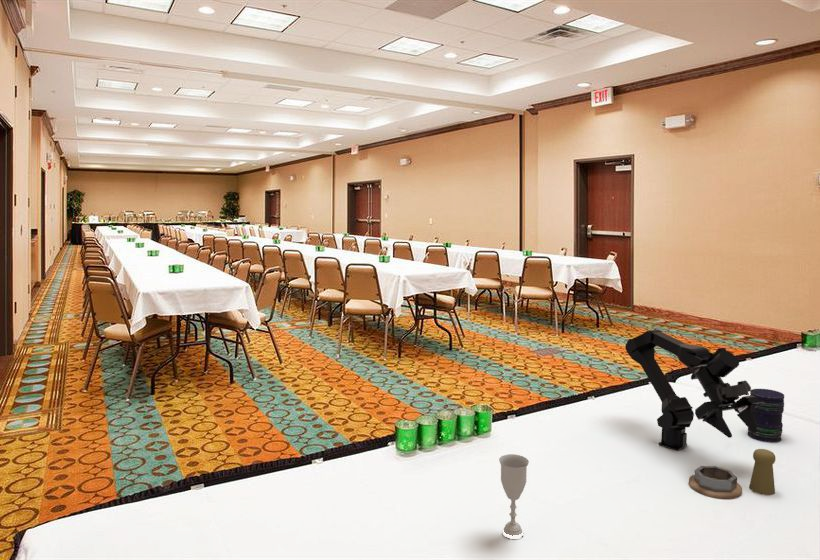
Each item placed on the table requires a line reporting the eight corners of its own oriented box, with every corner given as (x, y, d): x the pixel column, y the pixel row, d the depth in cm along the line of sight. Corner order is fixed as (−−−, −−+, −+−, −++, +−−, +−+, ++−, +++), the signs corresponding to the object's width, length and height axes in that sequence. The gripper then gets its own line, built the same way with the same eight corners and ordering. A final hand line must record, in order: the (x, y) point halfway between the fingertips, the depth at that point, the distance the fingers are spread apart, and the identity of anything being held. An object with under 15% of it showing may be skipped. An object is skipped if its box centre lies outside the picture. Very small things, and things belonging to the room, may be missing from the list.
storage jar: (782, 435, 200) (785, 391, 198) (781, 445, 191) (784, 399, 190) (747, 429, 205) (750, 386, 203) (746, 438, 197) (748, 394, 195)
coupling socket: (680, 486, 164) (680, 472, 163) (700, 472, 172) (701, 459, 172) (730, 504, 154) (731, 489, 154) (749, 488, 163) (750, 474, 162)
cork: (778, 496, 158) (781, 456, 157) (753, 494, 159) (756, 454, 158) (769, 485, 164) (772, 447, 163) (745, 483, 165) (748, 445, 164)
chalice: (495, 526, 144) (495, 454, 142) (522, 524, 145) (523, 453, 143) (502, 543, 137) (503, 468, 135) (531, 541, 138) (532, 466, 135)
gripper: (705, 374, 166) (736, 426, 157) (755, 368, 172) (788, 417, 163) (682, 394, 175) (710, 444, 166) (731, 387, 181) (761, 435, 172)
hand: (743, 434), depth 166 cm, fingers open, 9 cm apart
